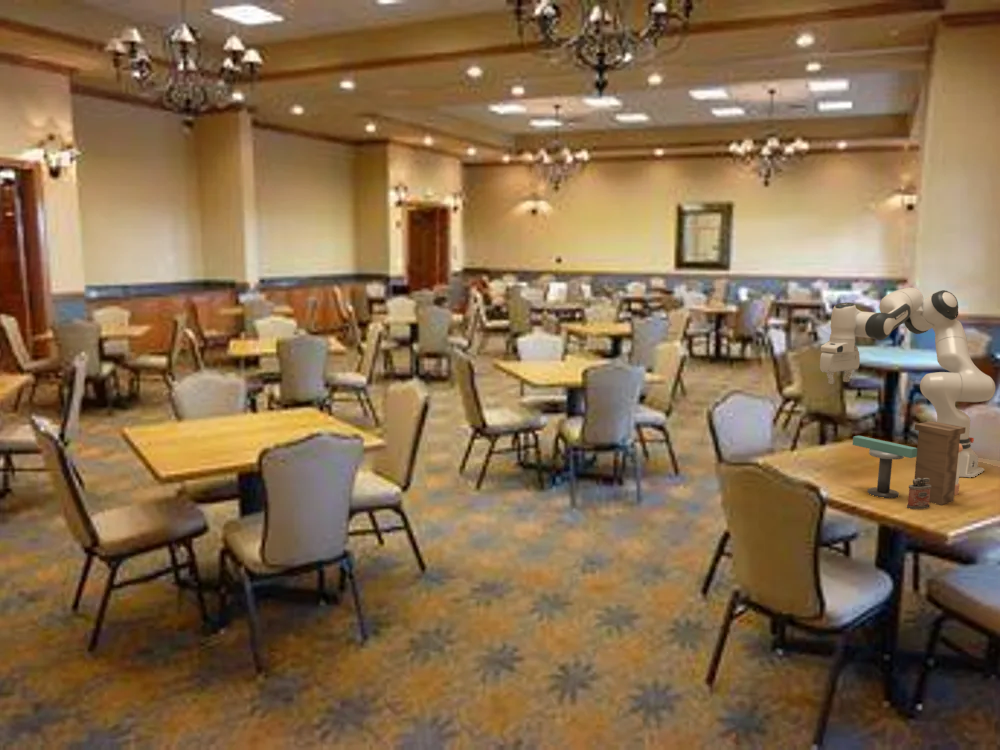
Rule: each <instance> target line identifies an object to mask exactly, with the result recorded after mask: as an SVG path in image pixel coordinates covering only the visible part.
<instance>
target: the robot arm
mask: <svg viewBox="0 0 1000 750" xmlns="http://www.w3.org/2000/svg"><path fill="white" fill-rule="evenodd" d="M831 312H832V313H831V317H830V330H831V331H830V335H829V341H827V342H826V343H824V344H822V345H820V351H821V353H820V357H819V369H820V371H821V372H822V373H826V376H827V379H828V382H827V383H828V384H830V385H833V384H835V383H836V382H835V381H836V379H835V377H834V375H835V373H837V372H838V373H839V372H845V374H844V376H843V377H842V381H843V382H846V383H848V382H850V380H851V376H852V374H853V370H858V369H859V367H860V359H861V357H860V351H859V348H858V346H857V345H855V344H856V343H855V342H856V341H855V340H856V337H859V338H867V339H873V340H878V341H883V340H885V339H886V338H888V337H889V336H890V334H891V333H893V331H894V330H895V329H897V328H898V327H900V326H901V325H902V324H904V325H905V328H906V329H907V330H908V331H909V332H911V333H912V334H915V335H921V334H924V333H927V332H928V331H930V330H931V329H932V330H933V332H934V340H935V341H934V343H935V352H936V360H937V363H938V364H939V366H940V367H941V368H942V369H943V370H946V372H945V371H939V372H930V373H926V374H925V375H924V376H923V377H922V378H921V380H920V384H919V389H920V392H921V394H922V396H923V397H924V398H925V399H927V400H928V401H929V402H930V403H931V405H932V406H933V408H934V409H935V412H936V422H938V423H944V424H949V425H955V426H960V427H966V428H965V433H964V434H960V443H959V444H961V445H962V447H963V450H962V451H961V452H960V456H959V478H960V477H961V478H964V477H965V478H971V477H974V478H976V477H977V476H979V475H980V473H981V474H982V473H984V472H985V468H983V467H981V466H979V456H978V454H976V453H975V451H974V450H973V449H972V448H971V447H972V446H971V445H972V443H974V442H975V441H974V440H975V438H974V437H970V427H971V418H970V417H969V415H968V414H967V413H966V412H964V411H962V410H961V409H958V408H957V407H956V402H961V403H962V402H965V403H979V402H988V401H990V400H991V399H992V398H993V397H994V396H995V394H996V393H995V392H996V383H995V381H994V380H993V378H992V377H991V376H990V375H988V374H986V373H985V372H983V371H981V370H980V369H979V368H978V366H976V365H975V364H974V362H973V360H972V358H971V355H970V351H969V346H968V340H967V335H966V332H965V329H964V326H963V324H962V322H960V320H958V319H957V318H958V316H959V302H958V299H957V297H956V296H955V295H954V294H953V293H952V292H950V291H948V290H938V291H936V292H934V293H933V294H932V295H930V296H928V297H926V298H924V296H923V293H922V292H921V290H919V289H918V288H915V287H905V288H900V289H897V290H894V291H892V292H890V293H888V294H886V295H885V296H884V297H882V298H881V300H880V302H879V312H871V311H861V310H860V309H859V308H857V307H856V304H855V303H852V302H840V303H836V304H835V305H834V307H833V309H832V311H831ZM947 371H948V372H947ZM983 471H984V472H983ZM978 474H979V475H978ZM975 476H976V477H975Z"/></svg>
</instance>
